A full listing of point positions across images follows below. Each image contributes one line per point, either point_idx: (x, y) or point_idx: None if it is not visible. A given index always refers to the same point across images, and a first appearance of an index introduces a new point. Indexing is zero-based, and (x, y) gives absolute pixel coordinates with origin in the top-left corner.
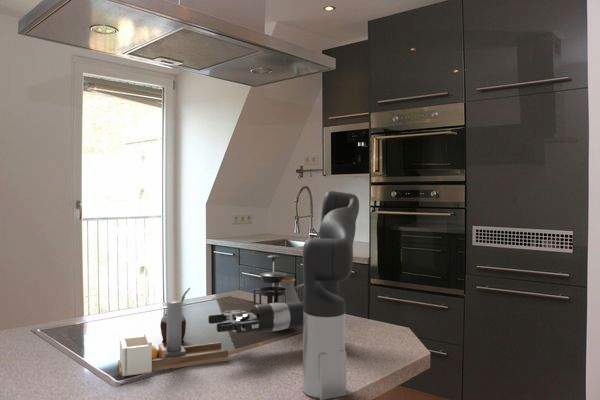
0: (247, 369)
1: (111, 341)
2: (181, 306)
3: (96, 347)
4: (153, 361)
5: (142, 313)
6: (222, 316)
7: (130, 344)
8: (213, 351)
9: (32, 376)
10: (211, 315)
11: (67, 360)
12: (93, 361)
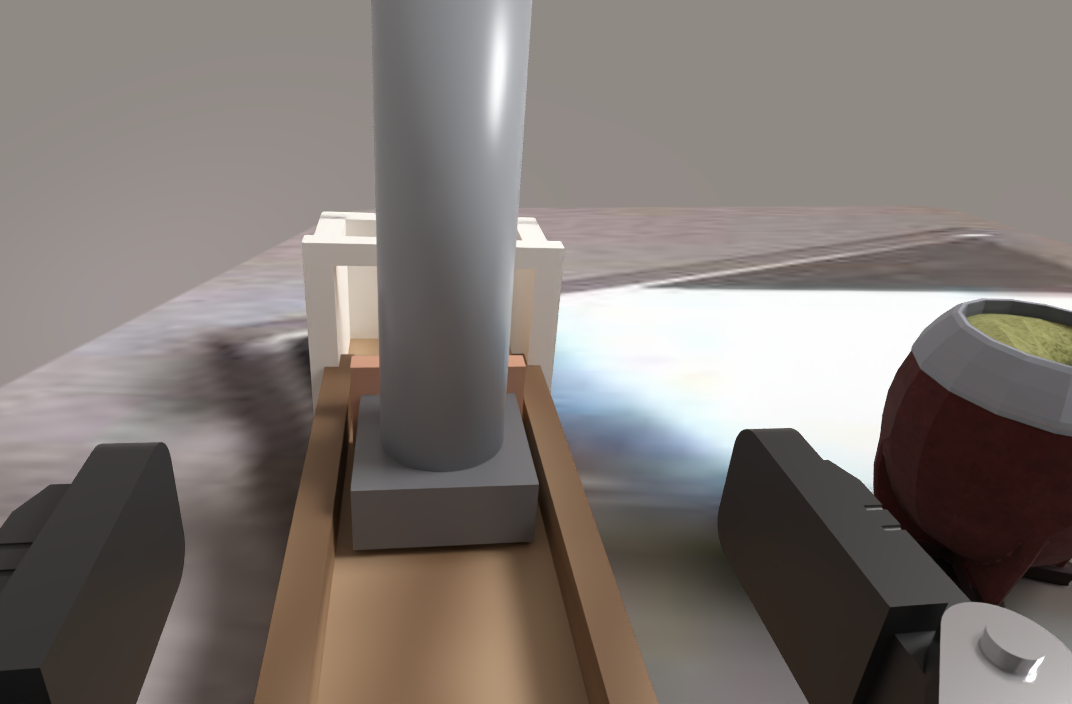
0: None
1: (885, 340)
2: (421, 40)
3: (781, 309)
4: (322, 377)
5: None
6: (878, 647)
7: (517, 271)
8: None
9: None
10: (764, 440)
11: (614, 265)
12: (584, 301)
